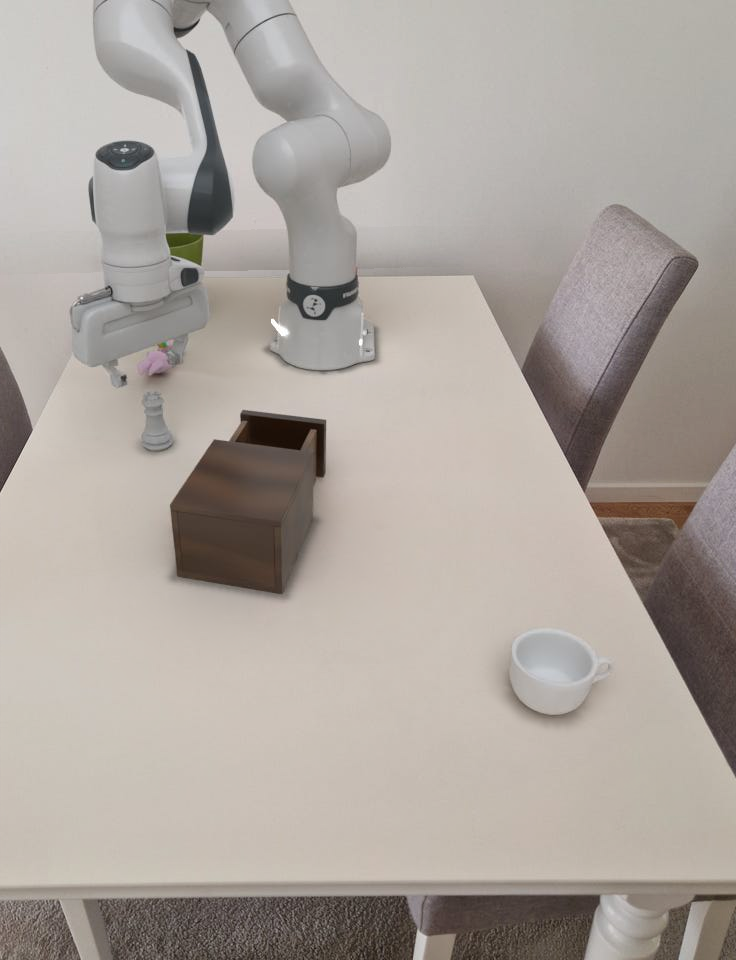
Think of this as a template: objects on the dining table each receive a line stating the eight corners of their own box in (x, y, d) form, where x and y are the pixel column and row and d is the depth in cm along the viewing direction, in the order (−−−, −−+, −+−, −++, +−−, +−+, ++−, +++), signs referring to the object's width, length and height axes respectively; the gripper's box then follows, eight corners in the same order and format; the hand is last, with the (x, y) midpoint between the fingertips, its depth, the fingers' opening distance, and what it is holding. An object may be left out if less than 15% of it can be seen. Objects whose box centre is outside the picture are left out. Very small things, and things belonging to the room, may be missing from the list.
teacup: (517, 730, 78) (526, 689, 75) (494, 669, 85) (501, 629, 82) (622, 722, 79) (635, 681, 76) (591, 662, 85) (601, 623, 82)
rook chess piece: (138, 440, 124) (132, 391, 119) (168, 434, 125) (163, 385, 121) (146, 455, 120) (140, 405, 116) (177, 448, 122) (172, 399, 117)
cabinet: (218, 506, 109) (213, 438, 104) (312, 520, 106) (313, 451, 101) (177, 576, 98) (169, 504, 92) (282, 594, 95) (280, 521, 89)
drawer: (255, 445, 120) (253, 393, 116) (333, 455, 118) (334, 403, 113) (212, 517, 106) (208, 461, 101) (300, 531, 103) (300, 474, 98)
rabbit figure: (156, 359, 150) (126, 383, 137) (154, 326, 148) (124, 347, 134) (190, 361, 149) (164, 386, 136) (189, 328, 147) (162, 350, 133)
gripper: (82, 306, 101) (96, 407, 109) (213, 265, 113) (218, 359, 121) (54, 292, 105) (70, 391, 113) (184, 254, 117) (191, 346, 124)
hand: (148, 374), depth 117 cm, fingers open, 8 cm apart
